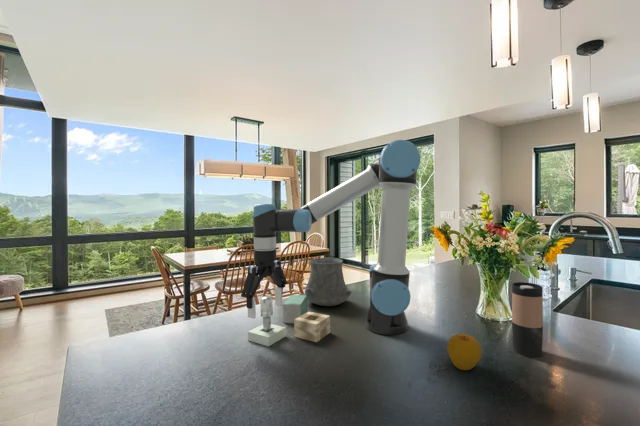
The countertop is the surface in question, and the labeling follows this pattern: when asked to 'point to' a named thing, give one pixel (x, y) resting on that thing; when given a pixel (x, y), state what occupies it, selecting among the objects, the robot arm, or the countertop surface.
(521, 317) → the travel mug
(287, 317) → the box
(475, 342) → the apple
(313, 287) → the vessel
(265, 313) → the silver peg
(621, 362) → the countertop surface
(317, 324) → the block
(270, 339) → the stand
